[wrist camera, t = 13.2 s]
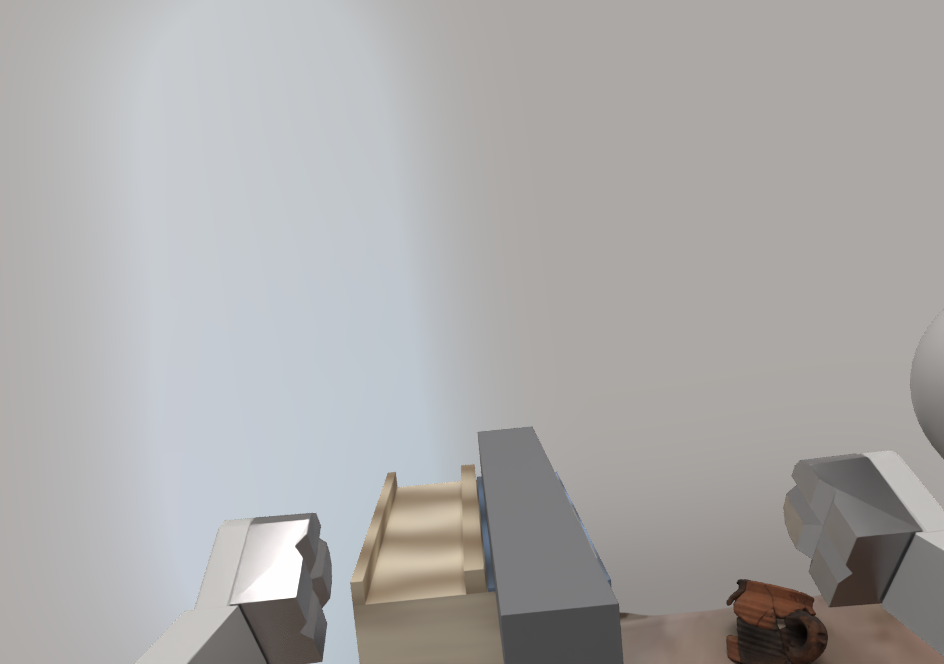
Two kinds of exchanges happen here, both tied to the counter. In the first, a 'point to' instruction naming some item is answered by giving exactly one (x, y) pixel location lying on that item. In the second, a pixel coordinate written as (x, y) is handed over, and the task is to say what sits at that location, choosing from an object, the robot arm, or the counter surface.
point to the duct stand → (429, 577)
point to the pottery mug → (774, 625)
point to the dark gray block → (542, 560)
